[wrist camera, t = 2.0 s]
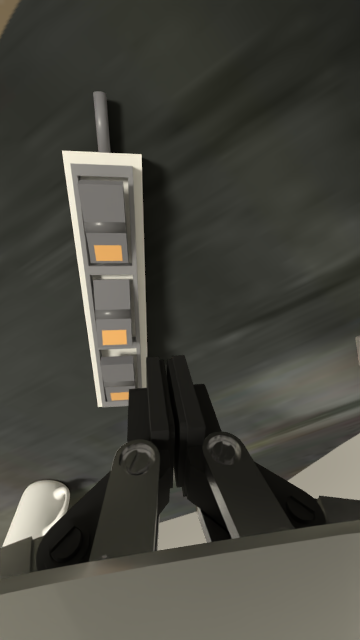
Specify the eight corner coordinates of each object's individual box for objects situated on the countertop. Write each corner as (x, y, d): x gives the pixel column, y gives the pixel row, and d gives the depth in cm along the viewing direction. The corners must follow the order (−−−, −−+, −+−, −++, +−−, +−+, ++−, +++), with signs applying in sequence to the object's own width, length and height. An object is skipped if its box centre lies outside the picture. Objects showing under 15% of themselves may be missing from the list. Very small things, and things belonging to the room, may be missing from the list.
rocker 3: (133, 354, 35) (133, 365, 34) (136, 390, 40) (136, 401, 39) (101, 355, 34) (99, 366, 33) (108, 392, 40) (107, 403, 38)
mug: (92, 481, 53) (81, 546, 43) (52, 510, 55) (33, 577, 46) (55, 462, 49) (34, 529, 40) (14, 494, 52) (-14, 564, 42)
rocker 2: (130, 278, 32) (129, 279, 31) (132, 342, 34) (131, 346, 32) (95, 278, 32) (92, 279, 30) (100, 343, 34) (97, 348, 32)
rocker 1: (123, 180, 26) (122, 185, 25) (128, 256, 31) (128, 264, 30) (80, 179, 25) (76, 184, 24) (93, 256, 31) (90, 264, 29)
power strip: (139, 99, 27) (139, 86, 24) (148, 390, 44) (148, 409, 41) (61, 94, 26) (48, 79, 23) (100, 393, 43) (96, 413, 40)
